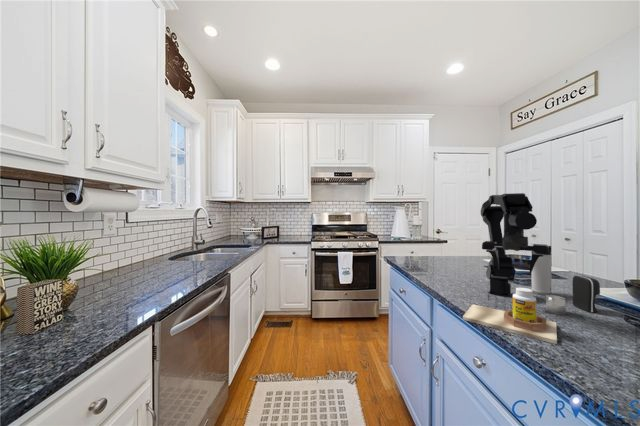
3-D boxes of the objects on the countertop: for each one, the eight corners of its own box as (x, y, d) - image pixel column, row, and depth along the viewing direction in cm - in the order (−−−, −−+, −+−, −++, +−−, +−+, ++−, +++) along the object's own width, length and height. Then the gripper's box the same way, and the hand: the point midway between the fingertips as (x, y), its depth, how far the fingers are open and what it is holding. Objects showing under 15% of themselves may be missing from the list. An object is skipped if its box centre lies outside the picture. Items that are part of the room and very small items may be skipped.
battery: (602, 313, 84) (602, 279, 84) (589, 313, 84) (589, 279, 84) (583, 305, 91) (583, 274, 90) (571, 305, 91) (571, 274, 91)
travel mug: (556, 295, 101) (556, 246, 101) (540, 295, 101) (540, 246, 101) (543, 290, 107) (543, 244, 107) (527, 290, 108) (527, 244, 107)
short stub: (544, 311, 86) (544, 297, 86) (546, 307, 89) (547, 293, 89) (564, 316, 82) (565, 301, 82) (566, 312, 85) (566, 297, 85)
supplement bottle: (511, 323, 75) (511, 289, 75) (513, 317, 79) (513, 285, 79) (536, 329, 71) (536, 293, 71) (536, 322, 75) (536, 288, 75)
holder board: (462, 319, 80) (462, 310, 80) (472, 306, 90) (472, 298, 90) (556, 344, 65) (556, 332, 65) (556, 325, 75) (556, 315, 75)
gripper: (478, 228, 90) (479, 270, 90) (548, 230, 78) (548, 280, 78) (484, 226, 99) (485, 266, 99) (548, 228, 86) (548, 273, 86)
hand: (513, 271), depth 90 cm, fingers open, 9 cm apart
